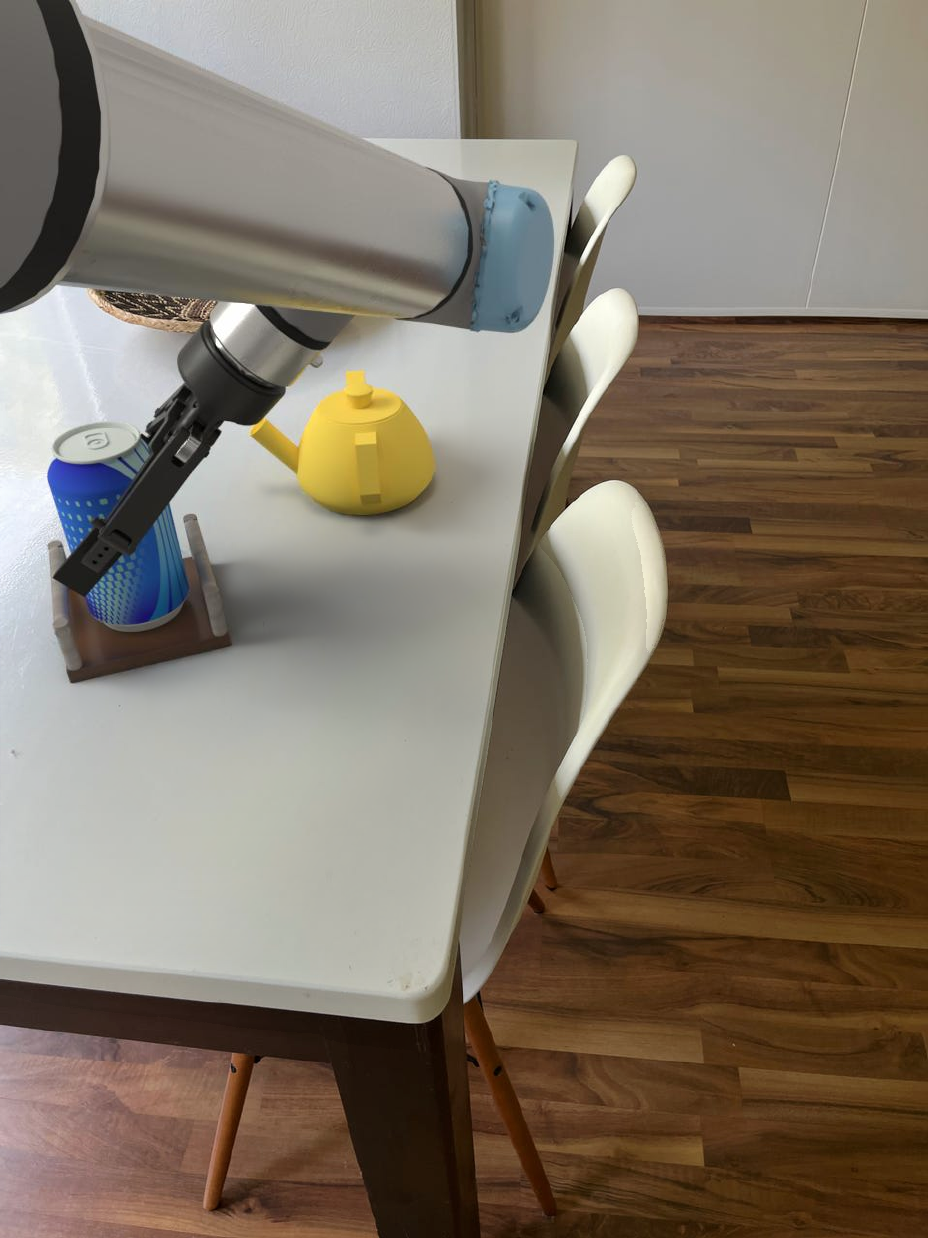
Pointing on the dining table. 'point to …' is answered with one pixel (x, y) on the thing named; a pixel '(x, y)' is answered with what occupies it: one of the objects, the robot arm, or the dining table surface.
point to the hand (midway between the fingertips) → (92, 537)
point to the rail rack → (112, 651)
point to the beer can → (90, 487)
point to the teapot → (357, 450)
